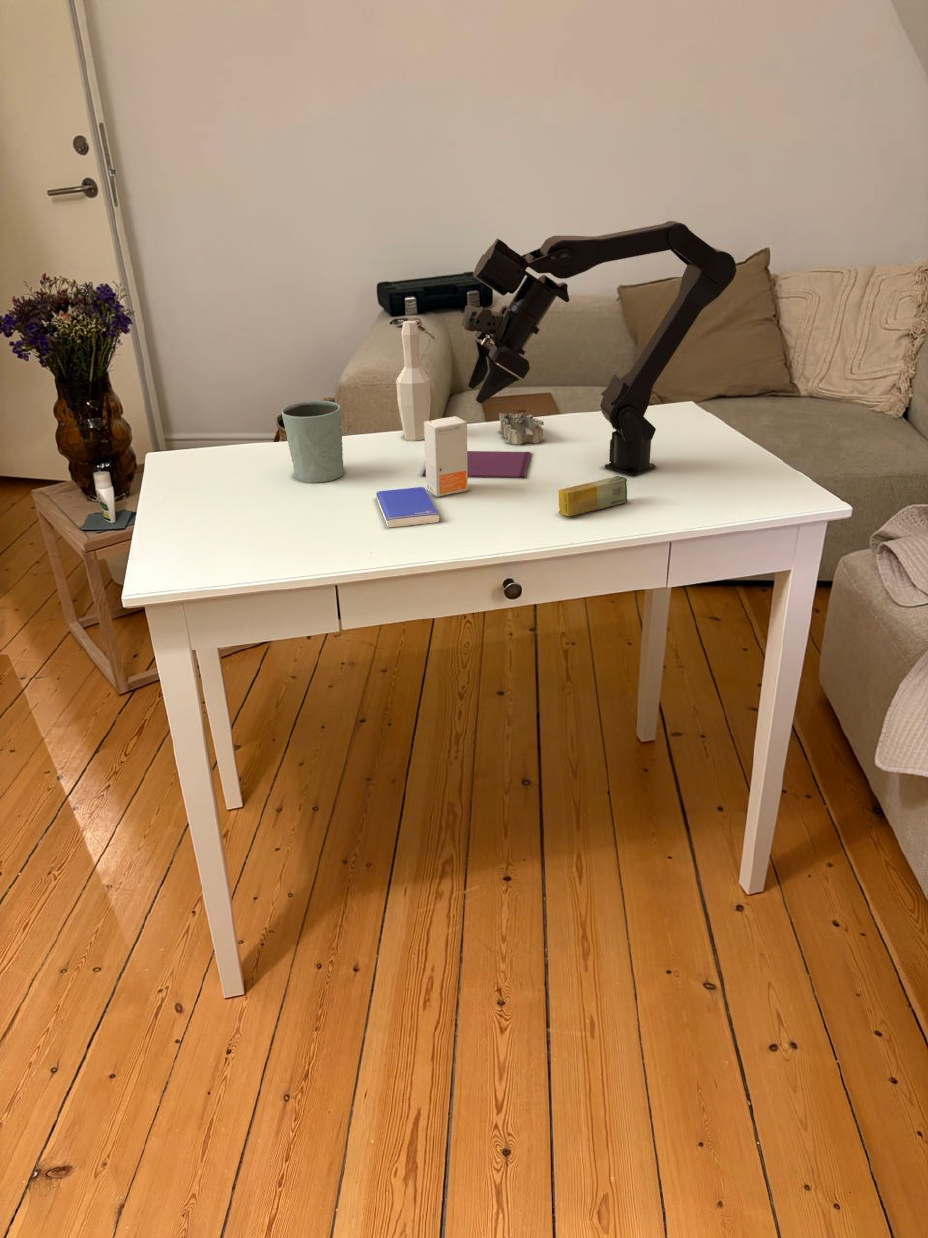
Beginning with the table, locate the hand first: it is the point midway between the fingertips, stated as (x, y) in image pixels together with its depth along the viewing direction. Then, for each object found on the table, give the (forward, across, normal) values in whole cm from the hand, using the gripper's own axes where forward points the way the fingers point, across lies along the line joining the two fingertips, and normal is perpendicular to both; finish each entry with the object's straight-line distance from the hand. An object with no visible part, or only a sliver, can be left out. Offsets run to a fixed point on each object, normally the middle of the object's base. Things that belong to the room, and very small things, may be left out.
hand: (473, 394), depth 161 cm
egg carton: (+6, -22, +18) cm, 29 cm away
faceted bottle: (+17, -27, +2) cm, 32 cm away
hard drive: (+20, +12, -2) cm, 23 cm away
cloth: (+12, -8, +10) cm, 17 cm away
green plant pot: (+28, -9, -14) cm, 32 cm away
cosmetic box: (+16, +4, +4) cm, 17 cm away
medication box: (+3, +17, +22) cm, 28 cm away
